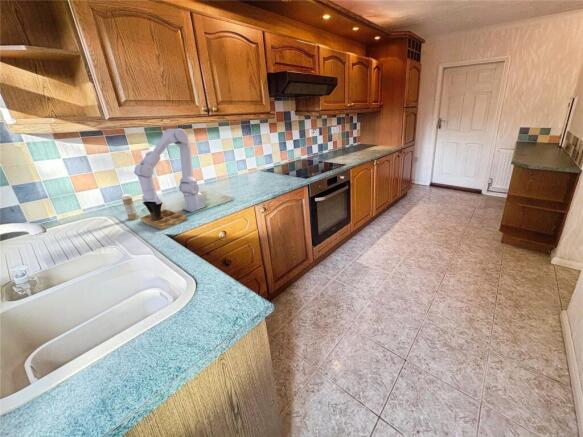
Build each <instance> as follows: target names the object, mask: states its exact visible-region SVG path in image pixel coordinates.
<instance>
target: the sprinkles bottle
mask: <svg viewBox="0 0 583 437" xmlns="http://www.w3.org/2000/svg"><path fill="white" fill-rule="evenodd" d="M120 198H121V200H122V202H123V205H124V209H125V213H126V215H127V217H128V218H127V219H128V220H129V221H132V220H136V219H138V218H139V216H138V214H137V209H136V207H135V204H134V201H133V196H132V193H125V194H122V195H121V196H120Z"/></svg>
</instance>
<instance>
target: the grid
mask: <svg viewBox="0 0 583 437" xmlns="http://www.w3.org/2000/svg"><path fill="white" fill-rule="evenodd" d="M187 220H188V219H187V215H185V214H183V213H182V214H181V213H179V212H176V211H172V210H169V209H167V208H164V209H161V218H159V219H152V218H151V215H150V213H149V214H146V215H144V216H140V221H141V223H144V224H146V225H148V226H151V227H154V228H156V229H158V230H161V231H163V230H167V229H168V228H171V227H173V226H176V225H179V224H181V223H183V222H186V221H187Z"/></svg>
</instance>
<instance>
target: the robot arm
mask: <svg viewBox="0 0 583 437" xmlns="http://www.w3.org/2000/svg"><path fill="white" fill-rule="evenodd" d="M188 137H189V136H188V133H187V132H186V130H184V129H183V128H167V129H165V131H164V132H163V133H162V135H161V138H160V140H159V141H158V143H157V144H156V146H155V147H154V149H153V150H150V151H148V152H146V153H145V157H143V159H142V160H140V161H139V164H136V166H135V167H134V171H133V173H134V175H135V176H137V178H138V181H139V184H140V189H141V191H142V196H141V197H142V199H141V201H142V204H143V205H144V206H145V207H146V209H147V210H148V212H149V213H150V211H152V210H153V211H154V213H155V216H156V217H158V216H161V210H162V206H163V201H162V200H161V198H159V196H158V194H157V189H156V185H155V182H154V178H153V175H154V169H155V168H156V166H157V165H158V163H159V162H160V160H161V154H162V153H163V152H164V151H165V150H166V149H167V148H168V146H169V145H172V144H175V145H176V146H177V147H178V149H179V155H180V166H181V175H182V176H181V178H180V179H179V186H178V189H179V191H180V192H181V193H182V195H183V200H184V203H185V207H184V208H183V210H184V211H188V212H189V213H192V212H195V211H198V210H200V209H203V208H206V205H205V202H204V196H203V194H202V193H201V192H200V186H199V184H198V181H197V179H196V178H195V177H194V173H193V172H194V171H193V170H194V169H193V158H192V149H191V148H192V146H191V142H190V140H189V138H188Z"/></svg>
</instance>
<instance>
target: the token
mask: <svg viewBox="0 0 583 437" xmlns="http://www.w3.org/2000/svg"><path fill="white" fill-rule="evenodd" d="M149 214H150V215H151V218H152V219H159V218H161V216H158V217H156V216H155V213H154V211H153V210H152V211H150V212H149Z"/></svg>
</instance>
